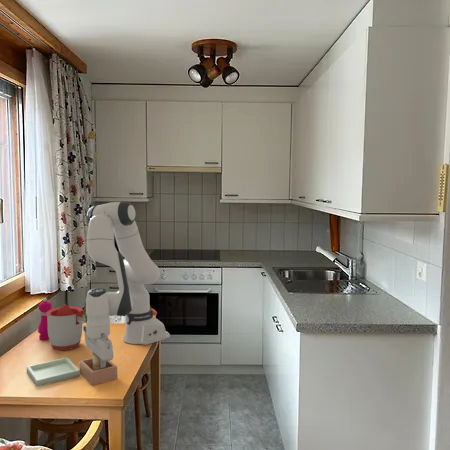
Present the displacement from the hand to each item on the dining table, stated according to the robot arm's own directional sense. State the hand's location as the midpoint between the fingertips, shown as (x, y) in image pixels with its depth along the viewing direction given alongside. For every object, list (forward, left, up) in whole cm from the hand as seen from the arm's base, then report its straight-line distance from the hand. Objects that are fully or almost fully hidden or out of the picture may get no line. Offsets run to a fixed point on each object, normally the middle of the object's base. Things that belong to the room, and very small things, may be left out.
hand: (99, 364), depth 178 cm
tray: (+15, -12, -5) cm, 19 cm away
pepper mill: (+6, -56, -5) cm, 57 cm away
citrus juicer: (+1, -39, -5) cm, 39 cm away
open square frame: (+1, 0, -5) cm, 5 cm away
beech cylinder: (0, 0, -3) cm, 3 cm away
